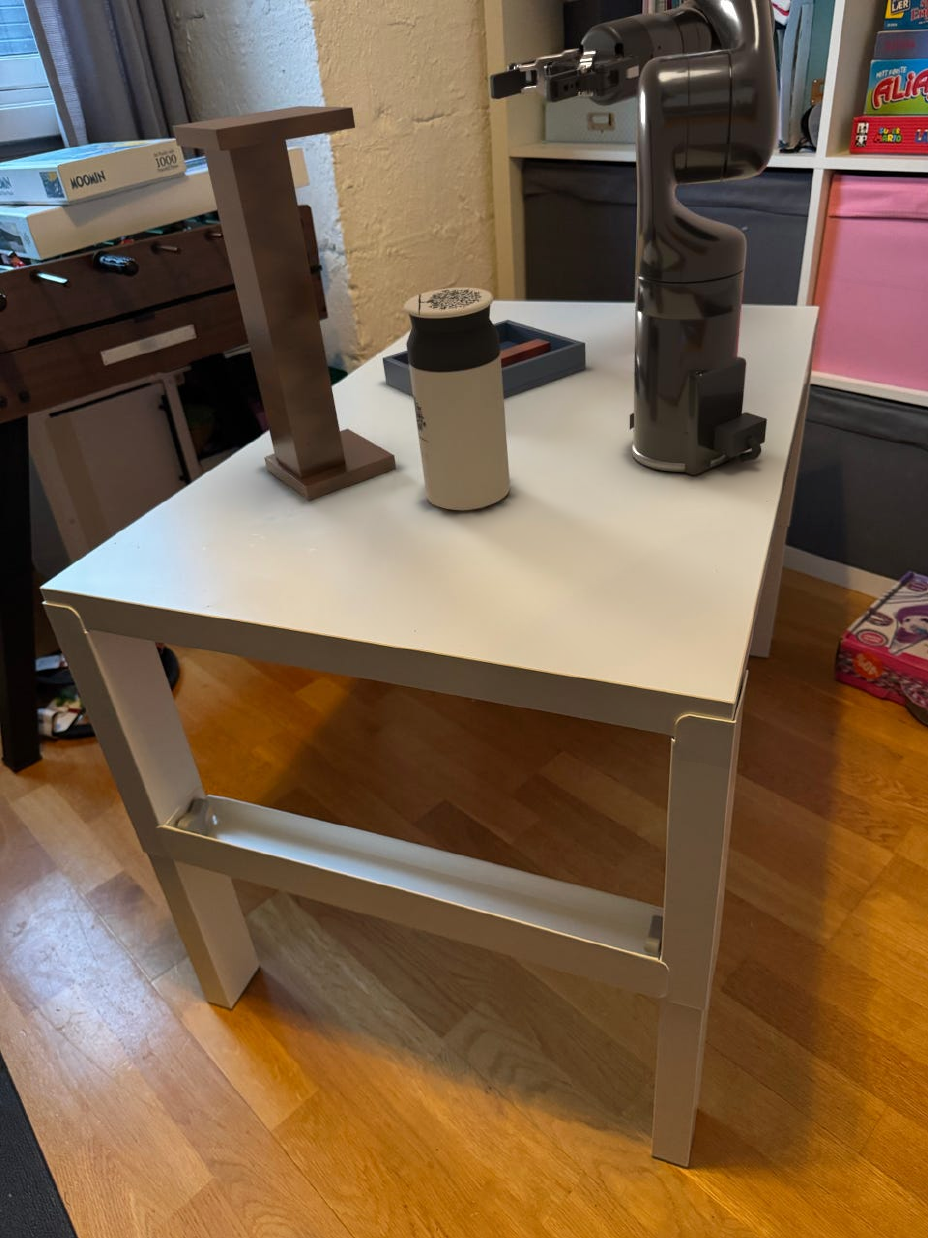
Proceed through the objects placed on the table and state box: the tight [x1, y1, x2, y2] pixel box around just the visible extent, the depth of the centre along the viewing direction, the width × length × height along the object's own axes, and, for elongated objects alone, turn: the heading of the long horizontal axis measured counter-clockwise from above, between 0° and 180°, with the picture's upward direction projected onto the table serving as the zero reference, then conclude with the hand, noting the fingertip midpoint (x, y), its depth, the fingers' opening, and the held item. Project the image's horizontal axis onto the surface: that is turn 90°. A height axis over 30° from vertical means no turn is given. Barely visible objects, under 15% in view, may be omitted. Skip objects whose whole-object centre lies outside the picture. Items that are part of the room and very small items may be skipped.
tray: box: [381, 319, 587, 399], centre depth 109 cm, size 16×20×3 cm
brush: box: [500, 339, 551, 368], centre depth 107 cm, size 17×6×5 cm, turn 126°
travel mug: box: [403, 287, 511, 511], centre depth 78 cm, size 8×8×18 cm
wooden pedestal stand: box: [172, 105, 397, 501], centre depth 82 cm, size 12×10×32 cm
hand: (519, 88), depth 89 cm, fingers open, 8 cm apart
